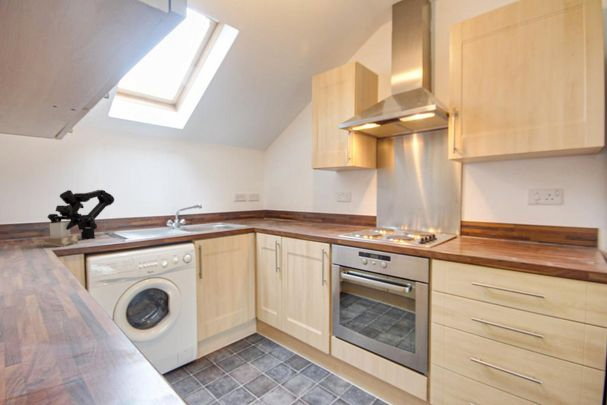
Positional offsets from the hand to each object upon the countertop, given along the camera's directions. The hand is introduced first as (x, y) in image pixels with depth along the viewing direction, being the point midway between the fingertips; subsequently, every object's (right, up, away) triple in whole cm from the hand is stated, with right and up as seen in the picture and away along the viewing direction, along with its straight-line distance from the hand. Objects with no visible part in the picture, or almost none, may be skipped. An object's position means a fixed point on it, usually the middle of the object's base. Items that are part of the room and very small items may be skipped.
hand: (58, 229), depth 169 cm
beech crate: (0, -9, +1) cm, 9 cm away
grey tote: (0, -8, +1) cm, 8 cm away
